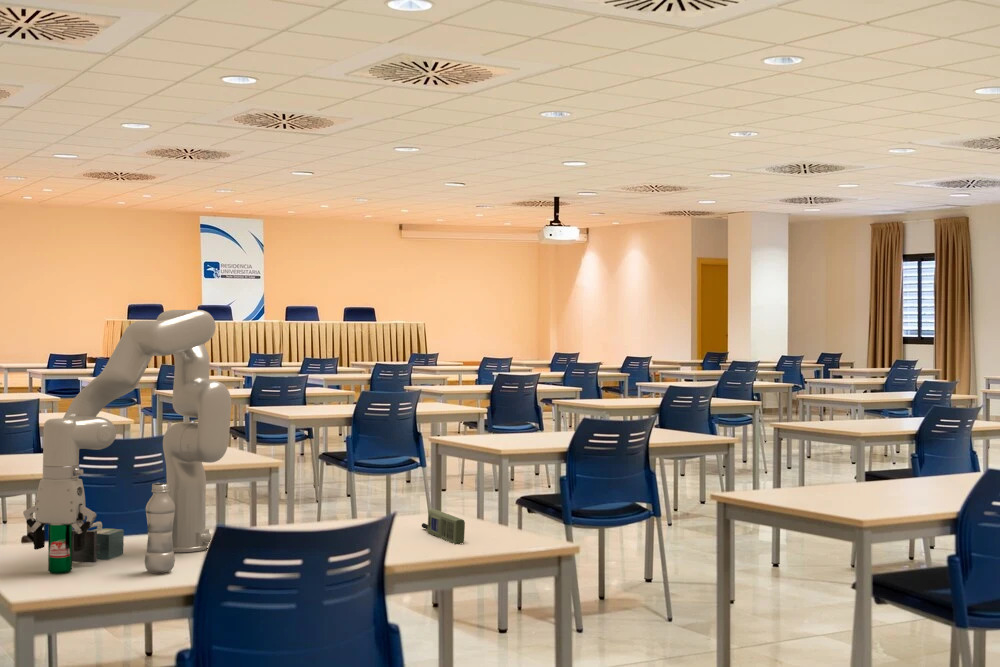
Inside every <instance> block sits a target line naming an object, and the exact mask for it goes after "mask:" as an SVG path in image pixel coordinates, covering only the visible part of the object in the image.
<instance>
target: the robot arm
mask: <svg viewBox="0 0 1000 667" xmlns="http://www.w3.org/2000/svg"><path fill="white" fill-rule="evenodd" d="M215 321H216V320H215V319H214V317H213V316H212V315H211V313H210V312H208V311H205V310H202V309H170V310H165V311H163V312H161V313H160V314H158V316H157V318H156V320H138V321H134V322H132V323H129V324H128V326H127V327H126V328H125V330H124V332H123V334H122V335H121V337H120V339H119V341H118V343H117V345H116V346H115V349H114V350H113V352H112V353H111V356H110V357H109V359H108V361H107V363H106V364H105V366H104V368H103V370H102V371H101V373H99V374H98V375H96V377H95V378H93V379H92V380H91V381H90V382H88V384H87V385H86V386H85V387H83V389H81V391H80V392H78V394H76V396H74V398H73V400H72V401H71V402H70V404H69V407H67V409H66V412H65V414H64V415H63V417H60V418H59V417H58V418H50V419H47V420H46V421H45V422H44V424H43V446H42V447H43V448H42V450H43V451H42V478H41V479H40V480H39V483H38V486H37V493H36V499H35V505H33V506H31V507H29V508H28V509H25V510H24V511H23V512H22V514H23V516H24V519H25V520H26V521H25V522H26V525H28V526H29V528H30V530H31V532H33V534H32V535H33V538H32V541H33V542H32V544H33V549H34V550H40V549H43V548H45V544H46V542H45V539H46V530H45V529H44V527H45V526H46V525H49V524H52V523H57V524H62V525H72V527H73V530H75V531H76V534H74V551H76V552H77V551H80V550H83V549H84V546H85V532H87V530H89V529H91V528H92V527H91V526H92V525H93V523H95V520H96V518H97V513H96V512H95V511H92V510H91V509H90V508H88V507H86V495H85V488H84V483H83V479H82V478H79V477H80V476H83V475H84V469H83V468H80V463H79V462H80V458H79V457H80V450H81V449H84V450H85V449H86V450H96V451H97V450H98V451H99V450H103V449H106V448H108V447H110V446H111V445H112V444H113V443H114V441H115V439H116V437H117V429H116V427H115V425H114V423H113V422H112V421H110V419H107V418H105V417H100V416H98V414H100V412H101V411H102V410H103V409H105V407H106V406H107V405H109V404H111V403H112V402H113V401H114V400H116V399H119V398H121V397H124V396H125V395H128V394H129V393H131V392H133V391H134V390H135V389H136V388H137V387H138V385H139V383H140V381H141V379H142V377H143V375H144V374H145V372H146V369H147V367H148V366H149V364H150V362H151V360H152V358H153V357H155V356H156V357H165V356H167V357H168V356H171V355H173V358H174V374H173V375H174V376H173V389H172V409H173V410H174V412H175V413H176V414H178V415H179V416H182V417H187V418H196V419H197V422H185V421H183V422H177V423H174V424H172V425H171V426H169V427H168V428H167V430H166V431H165V433H164V435H163V439H162V449H163V455H164V460H165V467H166V483H168V484H169V492H168V495H169V496H170V498H171V499H172V500H173V502H174V504H175V513H174V520H173V530H172V542H173V551H174V553H191V552H193V553H194V552H200V551H204V550H207V549H206V548H207V546H208V544H209V542H210V540H211V537H212V534H211V533H210V528H206V519H207V518H206V517H207V516H206V514H207V513H206V506H207V505H206V502H207V497H206V496H207V494H206V492H207V491H206V490H207V476H206V470H205V467H204V463H205V464H207V463H210V464H211V463H216V462H218V461H220V460H222V458H223V457H224V456H225V455H226V453H227V451H228V450H227V449H228V446H229V441H230V440H229V439H230V429H231V417H232V396H231V394H230V391H229V389H228V387H227V386H226V385H225V384H224V383H222V382H220V381H218V380H211V379H210V355H209V352H208V350H207V347H206V345H205V344H206V343H209V341H210V340H211V339H212V338H213V336H214V334H215V333H216V325H217V324H216V322H215ZM34 513H35V517H34ZM90 527H91V528H90Z"/></svg>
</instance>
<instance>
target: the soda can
mask: <svg viewBox="0 0 1000 667" xmlns="http://www.w3.org/2000/svg"><path fill="white" fill-rule="evenodd" d="M73 530H74V528H73V527H72V525H62V524H57V523H52V524H48V535H47V536H48V543H47V544H48V551H47V553H48V555H47V556H48V558H47V560H48V562H47V564H48V565H47V569H48V570H47V571H48V572H49V573H50V574H53V575H63V574H64V575H65V574H68V573H71V571H73V562H72V539H73Z"/></svg>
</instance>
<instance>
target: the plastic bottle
mask: <svg viewBox="0 0 1000 667" xmlns="http://www.w3.org/2000/svg"><path fill="white" fill-rule="evenodd" d="M168 492H169V484H168V483H167V482H156V483H152V485H151V493H152V495H151V497H150V498H149V500H148V501H147V503H146V506H145V515H146V522H147V546H146V552H145V555H144V556H145V557H144V566H145V567H144V568H145V569H146V571H147V572H149V573H155V574H163V573H167V572H170V571H172V570H173V569H174V567H175V563H176V562H175V561H176V558H175V552H174V551H173V542H172V530H173V520H174V513H175V504H174V502H173V500H172V499H171V498H170V496H169V495H168Z"/></svg>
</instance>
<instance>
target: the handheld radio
mask: <svg viewBox="0 0 1000 667" xmlns="http://www.w3.org/2000/svg"><path fill="white" fill-rule="evenodd" d="M427 514H428V515H427V523H424V522H423V523H422V524H421V528H424V529H425V530H427V533H428V534H430V535H432V534H433V535H432V536H434V535H435V536H434V537H437V538H439V537H440V539H441V538H442V539H441V540H444V541H446V540H447V541H446V542H448V541H449V543H451V544H453V543H454V545H456V544H458V545H461V544H460V543H463V544H464V543H465V529H466V528H465V527H466V525H465V524H466V522H465V520H464V519H463V518H459V517H457V516H456V515H455V516H454V515H451V514H448V513H446V512H444V511H440V510H438V509H435V508H428V513H427Z"/></svg>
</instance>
